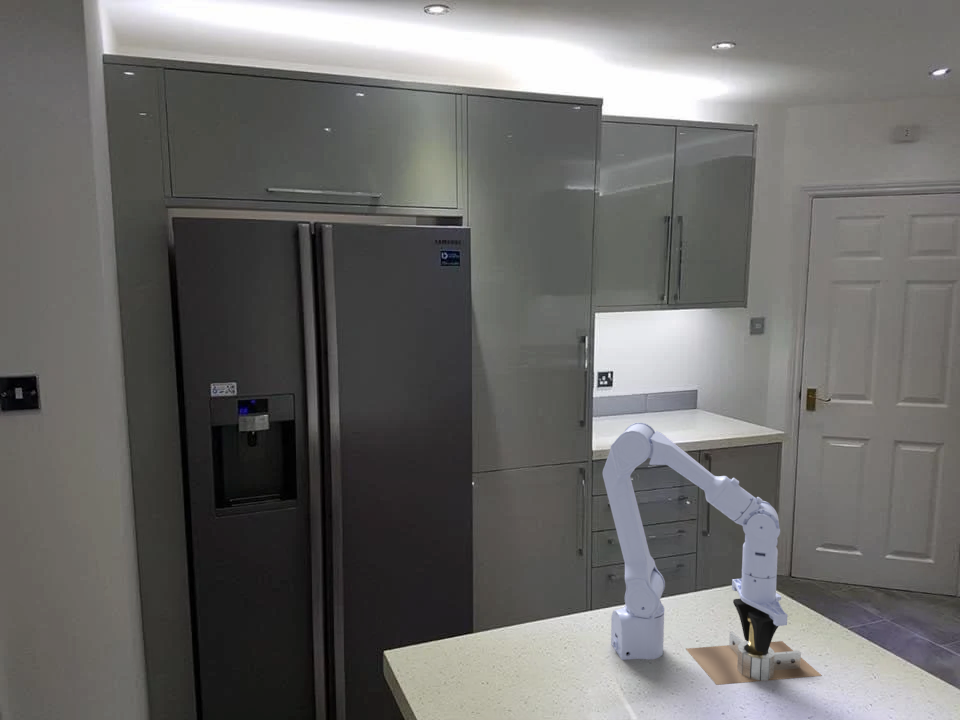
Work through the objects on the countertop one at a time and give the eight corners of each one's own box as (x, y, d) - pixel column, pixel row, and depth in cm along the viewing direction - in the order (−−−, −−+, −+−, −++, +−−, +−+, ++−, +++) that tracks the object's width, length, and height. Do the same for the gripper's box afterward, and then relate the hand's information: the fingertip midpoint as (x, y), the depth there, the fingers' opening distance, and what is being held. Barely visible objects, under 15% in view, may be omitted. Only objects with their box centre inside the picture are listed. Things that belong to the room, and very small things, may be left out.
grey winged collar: (748, 681, 116) (749, 660, 116) (716, 647, 127) (716, 627, 127) (809, 676, 118) (810, 655, 117) (772, 643, 129) (772, 623, 129)
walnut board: (716, 690, 115) (716, 684, 115) (685, 653, 127) (685, 648, 127) (821, 680, 118) (821, 675, 118) (781, 645, 130) (782, 641, 130)
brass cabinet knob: (751, 660, 117) (753, 622, 117) (742, 651, 120) (744, 614, 120) (768, 660, 118) (770, 621, 117) (758, 650, 121) (760, 613, 120)
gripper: (805, 588, 111) (801, 665, 112) (757, 555, 125) (754, 623, 127) (766, 590, 110) (763, 668, 111) (722, 557, 124) (720, 626, 126)
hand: (756, 645), depth 119 cm, fingers closed on brass cabinet knob, 3 cm apart
